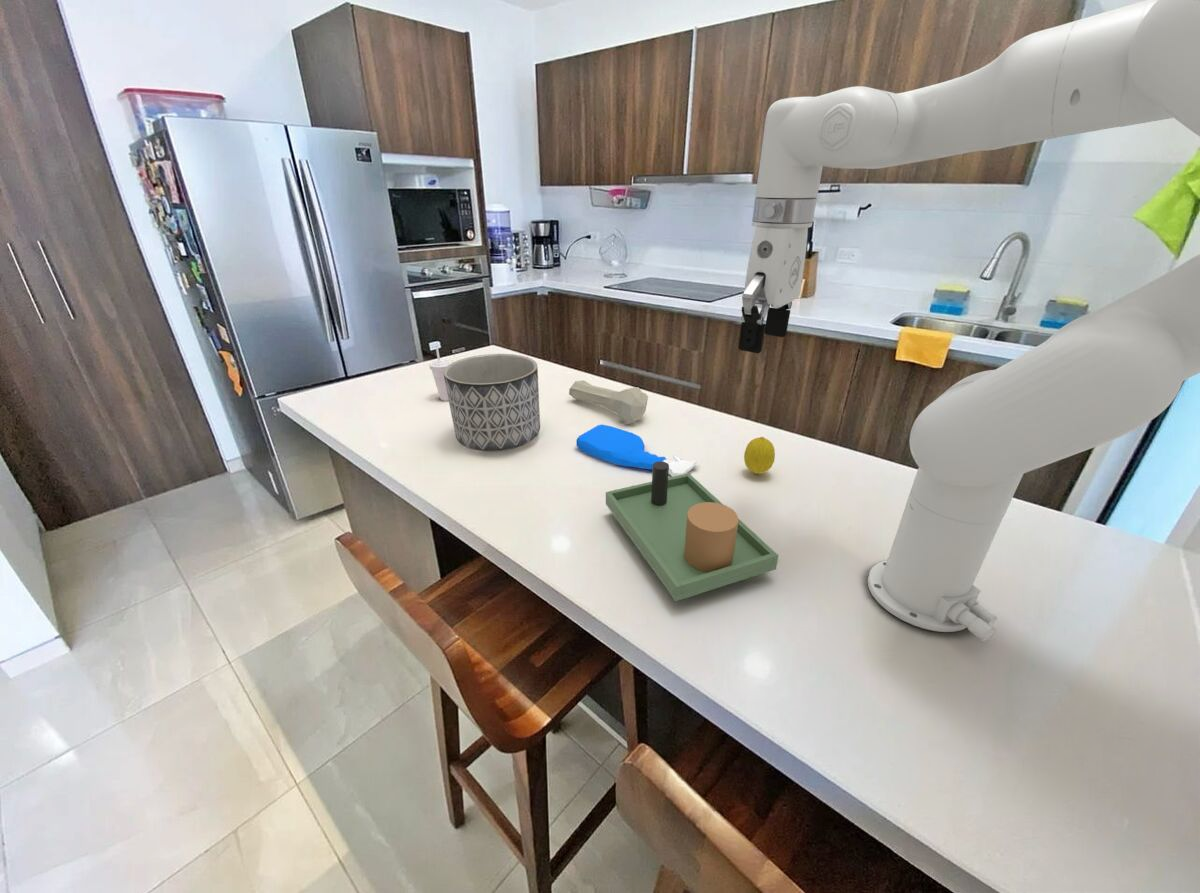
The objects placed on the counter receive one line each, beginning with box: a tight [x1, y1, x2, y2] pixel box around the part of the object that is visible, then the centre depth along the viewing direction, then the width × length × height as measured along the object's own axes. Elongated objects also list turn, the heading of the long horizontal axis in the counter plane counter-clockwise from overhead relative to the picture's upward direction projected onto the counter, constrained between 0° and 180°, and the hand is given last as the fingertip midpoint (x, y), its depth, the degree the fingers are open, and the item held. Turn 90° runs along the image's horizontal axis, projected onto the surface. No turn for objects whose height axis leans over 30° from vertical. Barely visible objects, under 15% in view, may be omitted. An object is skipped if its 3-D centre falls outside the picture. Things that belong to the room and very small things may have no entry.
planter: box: [443, 353, 541, 452], centre depth 107 cm, size 19×19×16 cm
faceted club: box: [568, 379, 649, 425], centre depth 123 cm, size 9×8×25 cm
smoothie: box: [428, 346, 455, 402], centre depth 129 cm, size 6×6×14 cm
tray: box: [605, 461, 779, 602], centre depth 75 cm, size 24×16×8 cm, turn 22°
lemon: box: [743, 436, 776, 475], centre depth 94 cm, size 6×6×8 cm
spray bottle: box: [575, 424, 698, 477], centre depth 102 cm, size 3×11×24 cm
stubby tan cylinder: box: [684, 502, 739, 573], centre depth 69 cm, size 7×7×7 cm
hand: (762, 342), depth 73 cm, fingers open, 9 cm apart
